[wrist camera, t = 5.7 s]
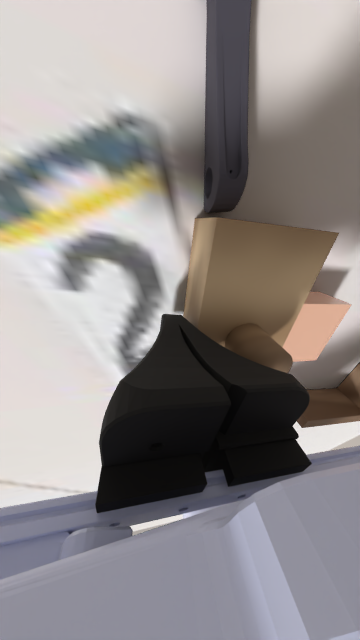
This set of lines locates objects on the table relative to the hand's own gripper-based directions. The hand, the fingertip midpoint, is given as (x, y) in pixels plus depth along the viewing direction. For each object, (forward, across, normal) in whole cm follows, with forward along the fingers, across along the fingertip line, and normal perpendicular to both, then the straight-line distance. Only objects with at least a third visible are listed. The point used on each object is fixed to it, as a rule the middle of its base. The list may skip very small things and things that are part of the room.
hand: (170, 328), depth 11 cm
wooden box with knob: (+2, -4, 0) cm, 5 cm away
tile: (+2, -10, 0) cm, 10 cm away
